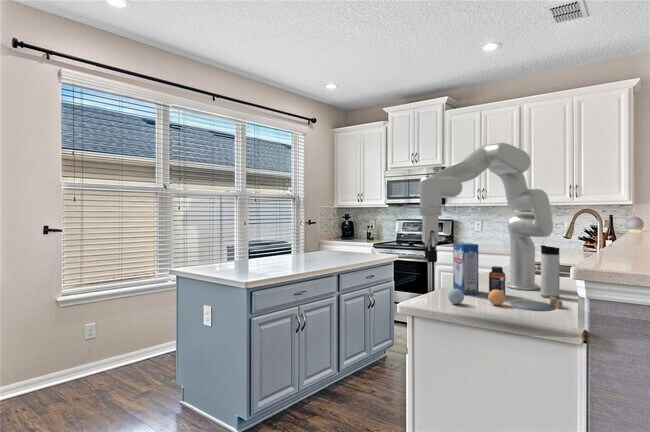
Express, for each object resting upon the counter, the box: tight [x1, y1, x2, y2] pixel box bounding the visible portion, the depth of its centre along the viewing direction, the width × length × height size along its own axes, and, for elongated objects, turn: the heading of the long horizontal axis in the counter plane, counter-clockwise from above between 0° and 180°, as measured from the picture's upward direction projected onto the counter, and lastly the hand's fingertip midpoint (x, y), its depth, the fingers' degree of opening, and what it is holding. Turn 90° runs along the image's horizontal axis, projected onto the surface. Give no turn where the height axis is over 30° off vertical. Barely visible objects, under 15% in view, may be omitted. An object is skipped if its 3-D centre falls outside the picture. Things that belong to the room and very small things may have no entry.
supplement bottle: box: [488, 265, 506, 296], centre depth 158 cm, size 6×6×11 cm
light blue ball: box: [447, 289, 465, 305], centre depth 145 cm, size 6×6×6 cm
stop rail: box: [549, 297, 563, 310], centre depth 140 cm, size 7×1×2 cm, turn 172°
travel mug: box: [540, 244, 561, 299], centre depth 154 cm, size 6×7×20 cm
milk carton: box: [452, 242, 479, 296], centre depth 165 cm, size 10×6×20 cm, turn 5°
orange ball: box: [488, 290, 506, 306], centre depth 143 cm, size 6×6×6 cm
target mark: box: [510, 300, 556, 312], centre depth 141 cm, size 14×14×1 cm
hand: (430, 260), depth 144 cm, fingers open, 7 cm apart
